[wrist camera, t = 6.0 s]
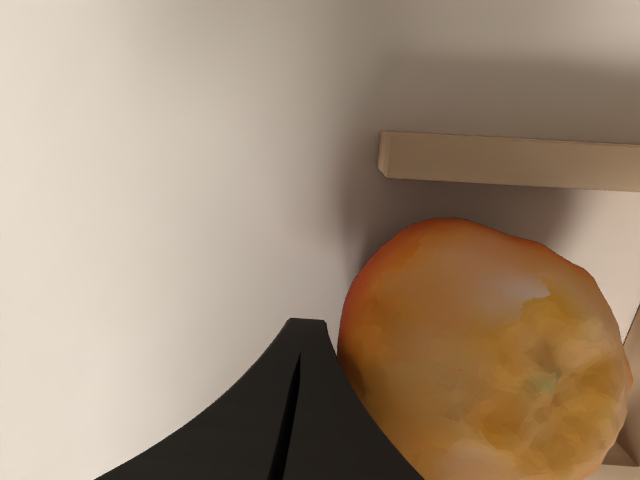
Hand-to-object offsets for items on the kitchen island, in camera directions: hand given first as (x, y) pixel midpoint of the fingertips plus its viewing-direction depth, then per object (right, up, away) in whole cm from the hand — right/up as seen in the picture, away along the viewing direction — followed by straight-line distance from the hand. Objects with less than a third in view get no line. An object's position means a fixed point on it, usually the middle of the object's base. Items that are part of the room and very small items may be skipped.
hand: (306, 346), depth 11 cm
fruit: (+5, +1, +3) cm, 6 cm away
